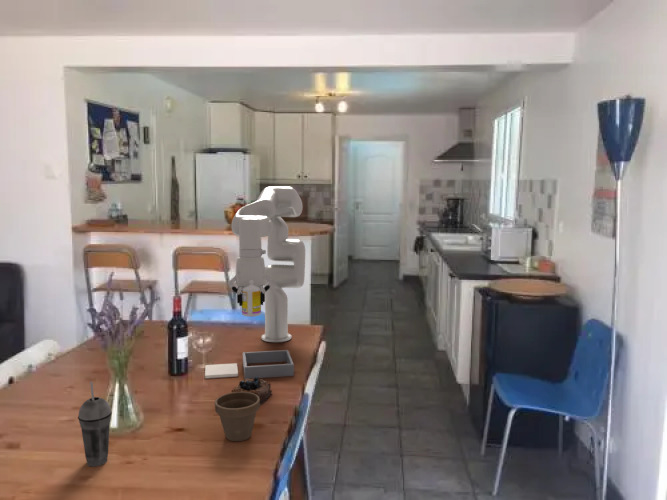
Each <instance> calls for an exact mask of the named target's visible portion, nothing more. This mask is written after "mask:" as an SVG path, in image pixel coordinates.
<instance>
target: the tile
mask: <svg viewBox="0 0 667 500" xmlns="http://www.w3.org/2000/svg"><path fill="white" fill-rule="evenodd" d="M204 367H205V371H204V379H217V378H218V379H219V378H233V377H236V378H237V377H239V371H238V369H239V368H238V363H237V362H236V363H218V364H216V363H215V364H206V365H205V366H204Z"/></svg>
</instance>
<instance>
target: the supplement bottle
mask: <svg viewBox="0 0 667 500" xmlns="http://www.w3.org/2000/svg"><path fill="white" fill-rule="evenodd" d="M249 284H250V285H249V286H247V287H243V288H242V290H241V294H242V306H241V315H242V316H243V317H248V318H249V317H258V316H260V315H261V314H262V305H261V289H260V287H259V286H254V285H253V284H254V282H253V280H250V281H249Z"/></svg>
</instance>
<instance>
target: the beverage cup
mask: <svg viewBox="0 0 667 500" xmlns="http://www.w3.org/2000/svg"><path fill="white" fill-rule="evenodd" d="M89 382H90V383H89V384H90V393H91V397H90V398H88V399H87V400H85V401H84V402H83V403H82V404H81V406H80V408H79V411H78V416H77V420H78V423H79V426H80V429H81V436H82V443H83V449H84V456H85V460H86V465H87V466H88V467H93V468H94V467H101V466H103V465H104V464H107V462H108V460H109V459H108V457H109V447H110V445H109V443H110V425H111V424H110V423H111V420H112V414H113V412H112V409H111V405H110V404H109V402H108V401H107V400H106V399H104V398H102V397H99V396H98V397H96V396H95V393H94V385H93V381H89Z"/></svg>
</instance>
